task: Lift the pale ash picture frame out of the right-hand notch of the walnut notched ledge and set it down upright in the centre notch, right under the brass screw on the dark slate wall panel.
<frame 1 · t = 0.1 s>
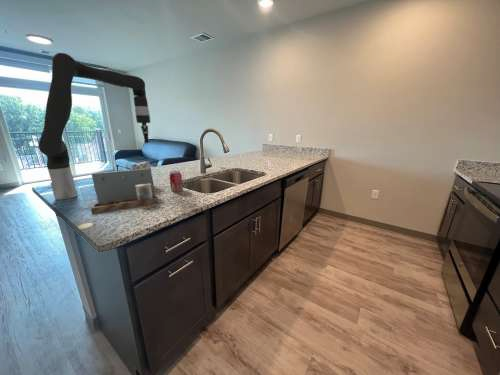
hand: (146, 142, 128), 29 cm above the table, tool pointing down, fingers open, 8 cm apart
candy bar box: (145, 187, 135), on the table
picture frame: (146, 202, 109), resting in notched ledge
notched ledge: (126, 205, 105), on the table
soda can: (177, 190, 129), on the table
wall panel: (127, 198, 115), on the table
paper bowls: (111, 194, 123), on the table
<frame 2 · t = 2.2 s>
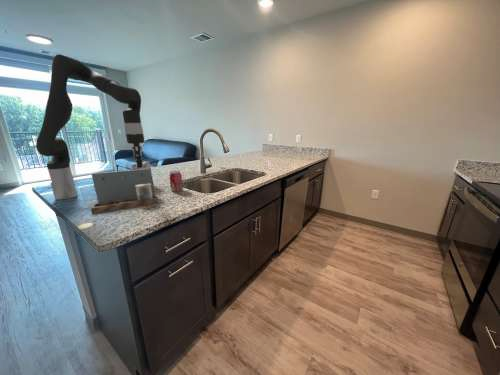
hand: (140, 166, 103), 20 cm above the table, tool pointing down, fingers open, 8 cm apart
nothing on the table moved.
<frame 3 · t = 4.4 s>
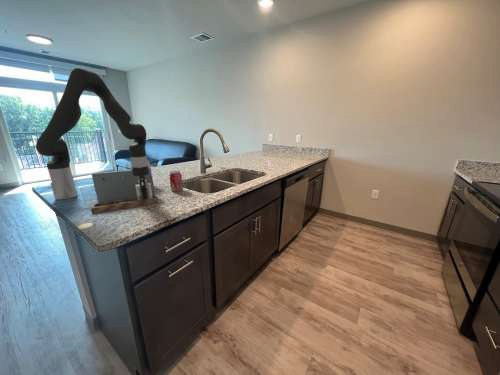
hand: (145, 197, 108), 3 cm above the table, tool pointing down, fingers closed on picture frame, 3 cm apart
picture frame: (146, 202, 109), resting in notched ledge, touching gripper
everything else where it was.
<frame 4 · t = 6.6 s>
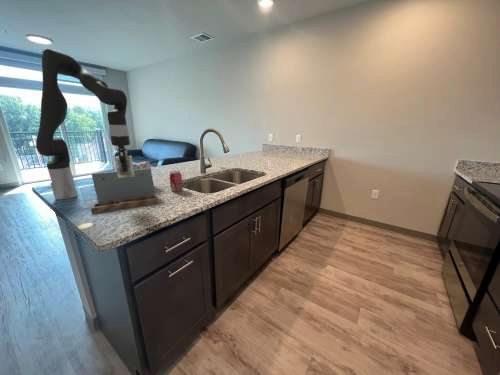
hand: (125, 170, 101), 18 cm above the table, tool pointing down, fingers closed on picture frame, 3 cm apart
picture frame: (126, 176, 102), point 15 cm above the table, touching gripper
everything else where it was.
when the fingers open (5 cm above the table, at t = 8.9 s): picture frame drops 1 cm, resting in notched ledge.
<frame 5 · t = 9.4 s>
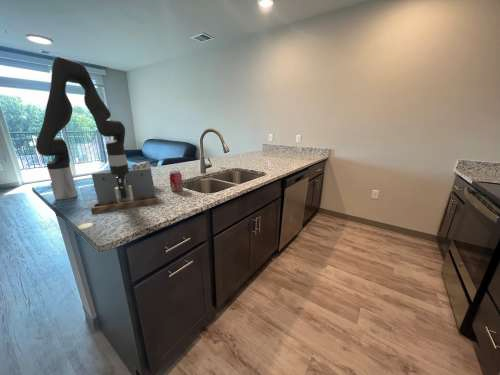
hand: (124, 195, 104), 6 cm above the table, tool pointing down, fingers open, 8 cm apart
picture frame: (126, 205, 105), resting in notched ledge
everything else where it was.
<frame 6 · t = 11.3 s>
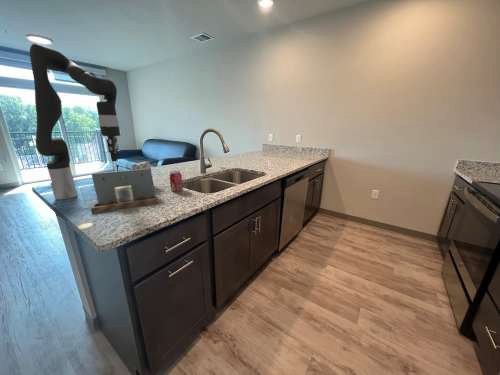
hand: (115, 159, 101), 23 cm above the table, tool pointing down, fingers open, 8 cm apart
nothing on the table moved.
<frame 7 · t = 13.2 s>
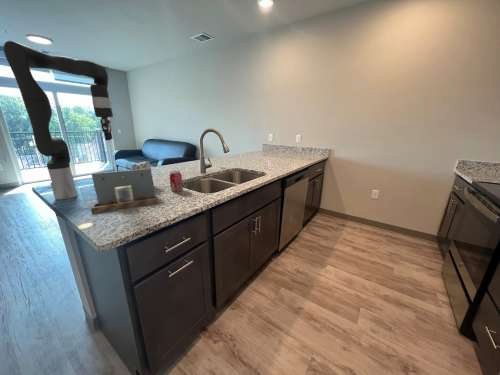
hand: (109, 139, 109), 32 cm above the table, tool pointing down, fingers open, 8 cm apart
nothing on the table moved.
at the end: picture frame 0.2 cm off-centre on the notched ledge, point 0.0 cm above the notched ledge's base; picture frame tilted 0°; the gripper is holding nothing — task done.
